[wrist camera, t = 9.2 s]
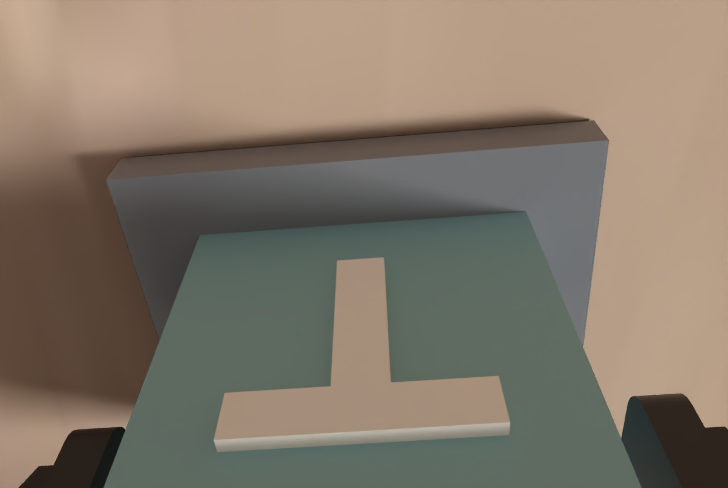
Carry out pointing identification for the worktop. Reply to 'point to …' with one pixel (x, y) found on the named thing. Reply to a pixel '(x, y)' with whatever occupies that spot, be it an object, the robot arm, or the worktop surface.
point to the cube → (372, 366)
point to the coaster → (367, 195)
